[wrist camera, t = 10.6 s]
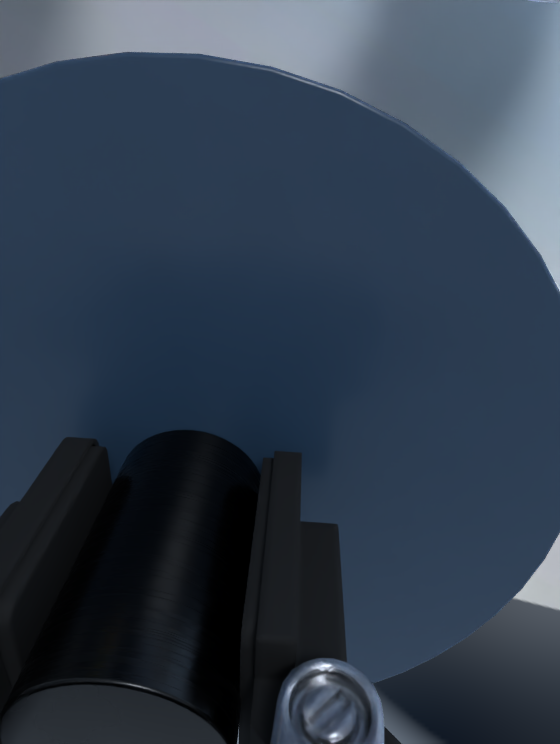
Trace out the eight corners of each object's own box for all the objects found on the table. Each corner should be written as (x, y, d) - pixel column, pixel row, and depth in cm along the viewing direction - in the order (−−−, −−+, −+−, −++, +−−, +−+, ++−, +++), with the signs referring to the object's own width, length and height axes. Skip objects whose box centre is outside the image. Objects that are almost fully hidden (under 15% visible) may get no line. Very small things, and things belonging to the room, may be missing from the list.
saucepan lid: (526, -115, 7) (1185, -715, 2) (580, 618, 14) (749, 953, 9) (-326, 220, 10) (-1069, 381, 5) (65, 693, 17) (-49, 980, 12)
